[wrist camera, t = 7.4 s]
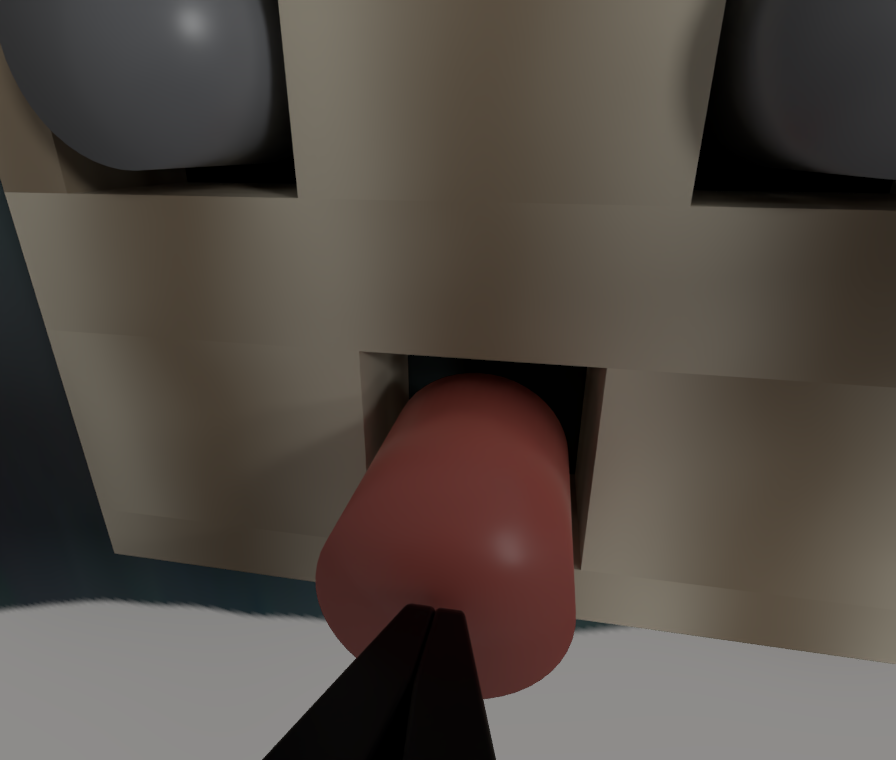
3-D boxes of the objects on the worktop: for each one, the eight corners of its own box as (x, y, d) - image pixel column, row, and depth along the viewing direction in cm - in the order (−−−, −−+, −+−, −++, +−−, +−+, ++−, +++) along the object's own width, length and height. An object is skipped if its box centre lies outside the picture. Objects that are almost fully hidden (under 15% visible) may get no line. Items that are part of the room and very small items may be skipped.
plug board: (1116, -215, 9) (1491, -456, 5) (838, 546, 15) (926, 668, 12) (74, -124, 12) (-127, -236, 9) (199, 474, 19) (114, 553, 15)
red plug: (576, 380, 11) (590, 513, 7) (560, 535, 13) (563, 718, 9) (389, 366, 12) (303, 481, 8) (395, 516, 13) (326, 677, 9)
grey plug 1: (321, -37, 12) (197, -137, 8) (336, 164, 13) (239, 171, 9) (154, -28, 12) (-44, -115, 8) (187, 162, 14) (35, 169, 10)
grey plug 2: (957, -71, 10) (1252, -230, 6) (885, 169, 11) (1071, 183, 7) (719, -58, 10) (827, -190, 6) (682, 167, 12) (749, 178, 8)
